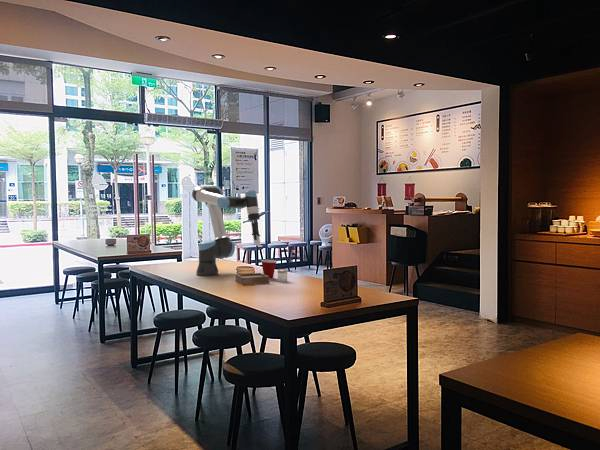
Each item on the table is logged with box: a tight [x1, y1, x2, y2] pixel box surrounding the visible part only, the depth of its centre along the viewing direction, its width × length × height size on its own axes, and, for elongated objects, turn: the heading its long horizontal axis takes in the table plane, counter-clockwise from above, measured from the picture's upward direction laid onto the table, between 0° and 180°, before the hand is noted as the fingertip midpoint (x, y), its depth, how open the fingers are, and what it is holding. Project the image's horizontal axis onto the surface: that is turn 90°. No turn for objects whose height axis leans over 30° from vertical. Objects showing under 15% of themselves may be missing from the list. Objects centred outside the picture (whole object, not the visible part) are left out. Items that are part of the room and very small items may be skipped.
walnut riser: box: [235, 272, 270, 286], centre depth 323 cm, size 17×17×4 cm
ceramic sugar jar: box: [277, 269, 288, 283], centre depth 326 cm, size 7×7×7 cm
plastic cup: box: [260, 259, 278, 280], centre depth 338 cm, size 11×11×12 cm
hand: (257, 245), depth 335 cm, fingers open, 13 cm apart
